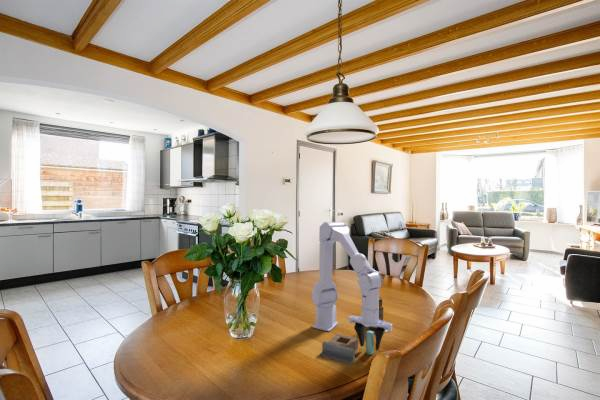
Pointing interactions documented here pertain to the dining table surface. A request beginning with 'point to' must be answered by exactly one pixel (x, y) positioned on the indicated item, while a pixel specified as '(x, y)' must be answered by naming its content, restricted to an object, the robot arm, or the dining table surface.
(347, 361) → the wall
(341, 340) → the brown hollow block
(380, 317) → the condiment
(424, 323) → the dining table surface
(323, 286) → the robot arm
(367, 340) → the dowel
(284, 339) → the dining table surface
